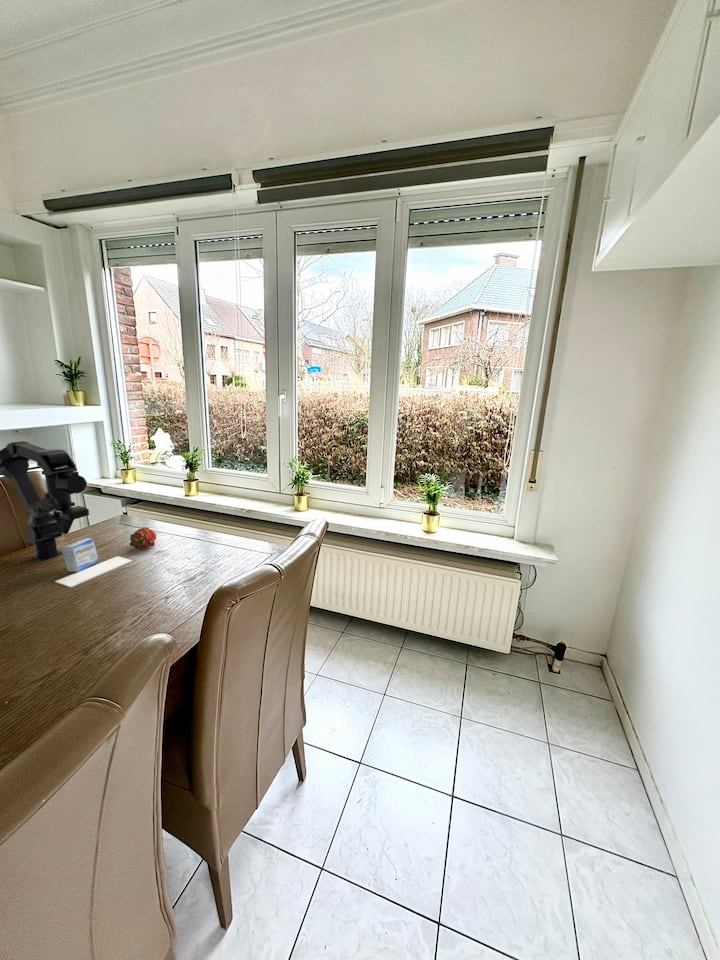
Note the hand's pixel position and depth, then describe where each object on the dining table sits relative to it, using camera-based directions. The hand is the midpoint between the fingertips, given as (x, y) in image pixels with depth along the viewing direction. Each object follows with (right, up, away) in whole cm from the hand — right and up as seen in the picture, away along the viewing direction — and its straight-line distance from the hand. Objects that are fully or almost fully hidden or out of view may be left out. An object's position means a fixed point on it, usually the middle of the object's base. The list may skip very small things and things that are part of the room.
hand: (65, 533), depth 127 cm
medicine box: (+6, -11, 0) cm, 13 cm away
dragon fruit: (+17, -8, +17) cm, 25 cm away
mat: (+12, -12, -2) cm, 17 cm away
